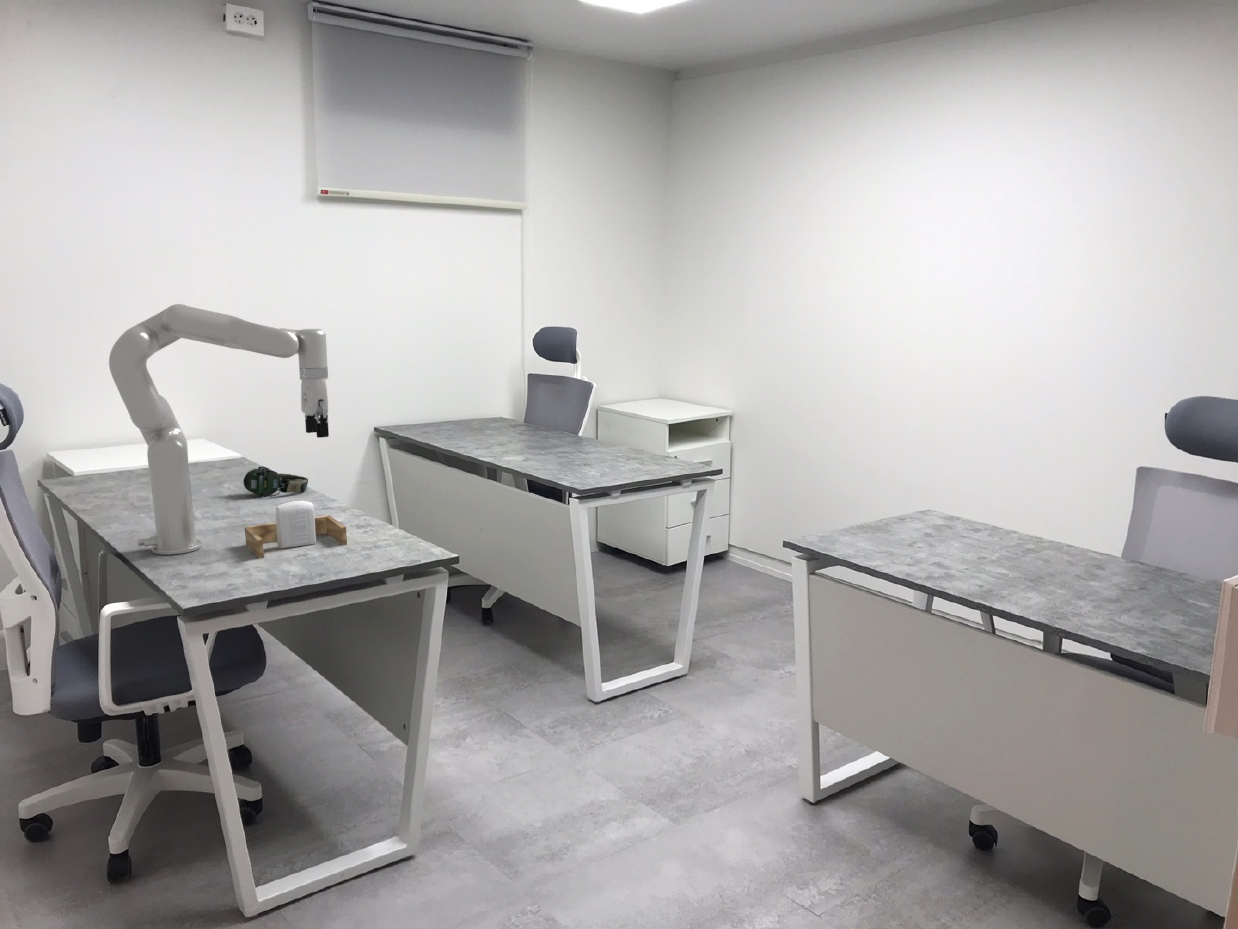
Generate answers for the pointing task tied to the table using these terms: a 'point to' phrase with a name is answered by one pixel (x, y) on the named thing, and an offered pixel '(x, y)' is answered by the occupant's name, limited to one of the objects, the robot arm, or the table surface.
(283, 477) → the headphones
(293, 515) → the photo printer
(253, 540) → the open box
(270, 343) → the robot arm
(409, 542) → the table surface
